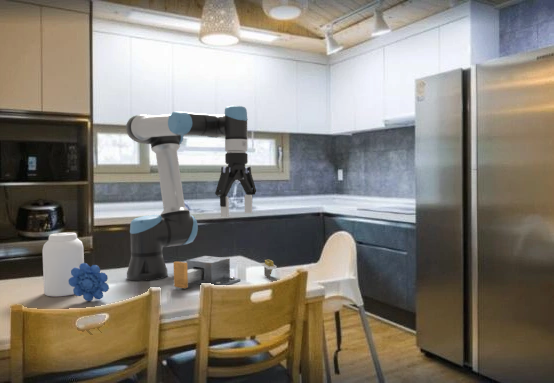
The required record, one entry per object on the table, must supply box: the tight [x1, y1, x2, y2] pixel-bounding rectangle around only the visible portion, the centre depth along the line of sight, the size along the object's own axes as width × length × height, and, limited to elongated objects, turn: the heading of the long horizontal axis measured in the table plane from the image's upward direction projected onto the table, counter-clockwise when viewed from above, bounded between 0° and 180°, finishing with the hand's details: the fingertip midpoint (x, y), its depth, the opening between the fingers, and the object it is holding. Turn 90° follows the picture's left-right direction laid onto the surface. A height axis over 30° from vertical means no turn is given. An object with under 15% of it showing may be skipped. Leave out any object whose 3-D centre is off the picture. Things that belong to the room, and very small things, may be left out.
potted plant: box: [260, 259, 277, 280], centre depth 166 cm, size 12×18×7 cm, turn 17°
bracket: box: [185, 255, 241, 286], centre depth 162 cm, size 20×12×8 cm, turn 57°
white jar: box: [42, 232, 85, 298], centre depth 149 cm, size 12×12×20 cm
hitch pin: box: [172, 260, 204, 289], centre depth 156 cm, size 5×16×8 cm, turn 147°
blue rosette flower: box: [68, 262, 110, 302], centre depth 137 cm, size 12×7×12 cm, turn 104°
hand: (237, 215), depth 152 cm, fingers open, 13 cm apart
